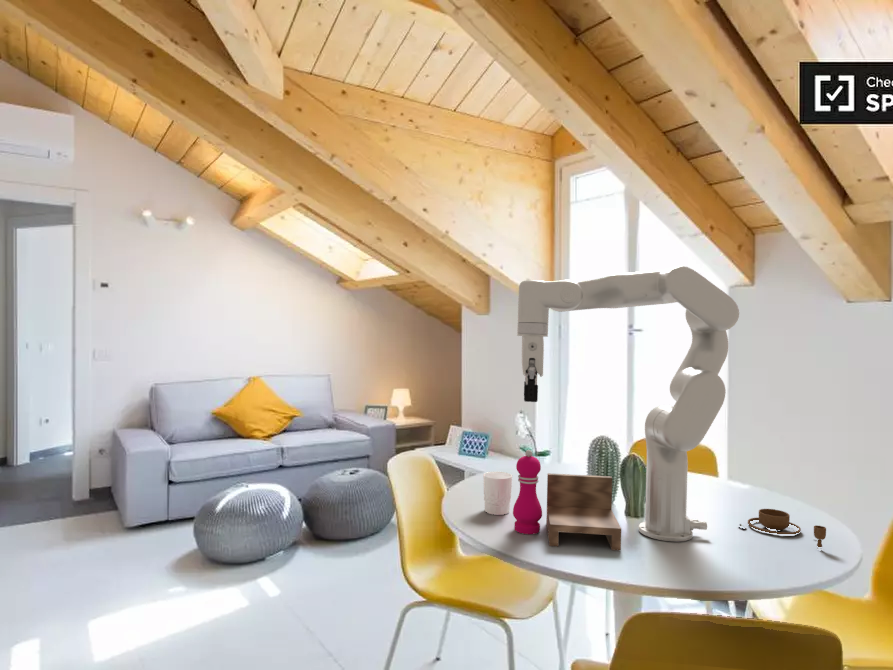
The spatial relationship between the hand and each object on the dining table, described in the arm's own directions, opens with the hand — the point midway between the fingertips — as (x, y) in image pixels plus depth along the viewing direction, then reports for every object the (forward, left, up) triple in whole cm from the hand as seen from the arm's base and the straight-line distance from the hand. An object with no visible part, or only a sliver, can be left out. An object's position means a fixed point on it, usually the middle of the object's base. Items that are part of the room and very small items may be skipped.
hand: (530, 399), depth 147 cm
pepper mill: (0, 0, -33) cm, 33 cm away
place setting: (-62, -9, -33) cm, 71 cm away
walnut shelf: (-13, +2, -33) cm, 35 cm away
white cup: (+8, -14, -33) cm, 36 cm away
